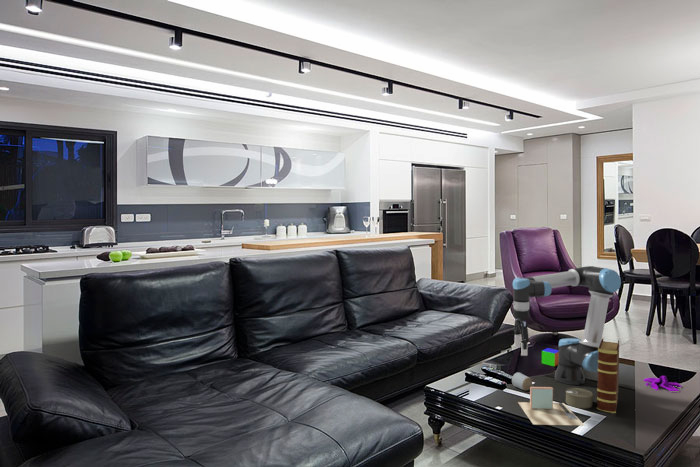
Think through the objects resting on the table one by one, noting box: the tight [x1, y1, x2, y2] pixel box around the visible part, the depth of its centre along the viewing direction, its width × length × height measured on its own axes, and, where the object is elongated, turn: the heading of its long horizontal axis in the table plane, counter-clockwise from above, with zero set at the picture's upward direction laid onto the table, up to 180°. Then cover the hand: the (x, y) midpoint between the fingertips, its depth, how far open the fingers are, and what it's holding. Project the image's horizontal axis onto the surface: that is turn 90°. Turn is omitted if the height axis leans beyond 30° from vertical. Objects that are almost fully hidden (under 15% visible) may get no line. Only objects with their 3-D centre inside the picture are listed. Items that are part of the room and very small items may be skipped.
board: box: [517, 401, 585, 427], centre depth 222 cm, size 22×24×1 cm
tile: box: [529, 386, 554, 409], centre depth 227 cm, size 10×2×10 cm, turn 86°
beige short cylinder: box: [564, 387, 594, 409], centre depth 233 cm, size 12×12×7 cm
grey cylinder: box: [511, 371, 535, 392], centre depth 256 cm, size 11×8×8 cm
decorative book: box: [596, 338, 620, 414], centre depth 232 cm, size 22×8×30 cm, turn 148°
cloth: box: [642, 375, 683, 392], centre depth 258 cm, size 22×19×6 cm
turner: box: [558, 402, 578, 419], centre depth 224 cm, size 4×16×1 cm, turn 176°
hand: (520, 351), depth 243 cm, fingers open, 13 cm apart
